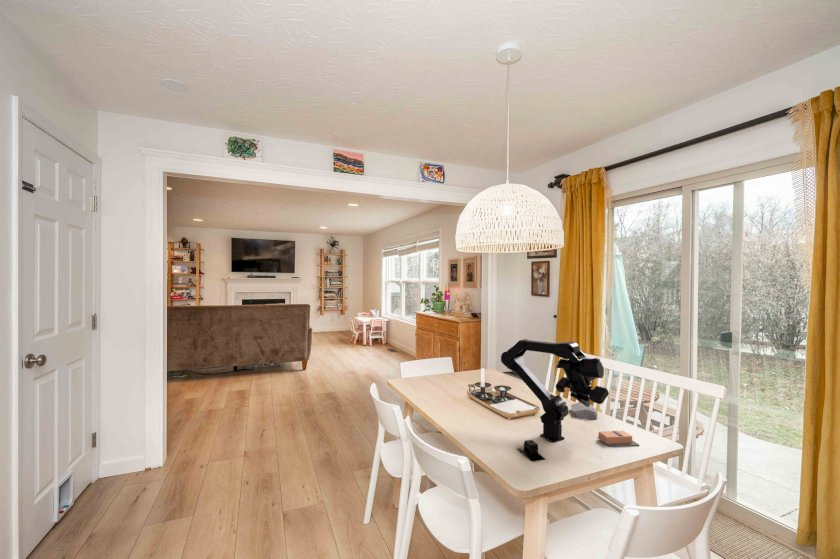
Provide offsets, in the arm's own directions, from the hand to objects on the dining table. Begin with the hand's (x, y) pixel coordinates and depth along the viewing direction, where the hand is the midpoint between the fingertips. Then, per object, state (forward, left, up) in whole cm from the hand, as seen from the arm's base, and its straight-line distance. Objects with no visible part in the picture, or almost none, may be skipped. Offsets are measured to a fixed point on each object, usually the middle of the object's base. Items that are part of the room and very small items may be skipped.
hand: (588, 406), depth 142 cm
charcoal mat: (+7, -7, -12) cm, 16 cm away
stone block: (+20, +18, -13) cm, 30 cm away
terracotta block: (+1, -5, -10) cm, 12 cm away
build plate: (-29, 0, -13) cm, 32 cm away
